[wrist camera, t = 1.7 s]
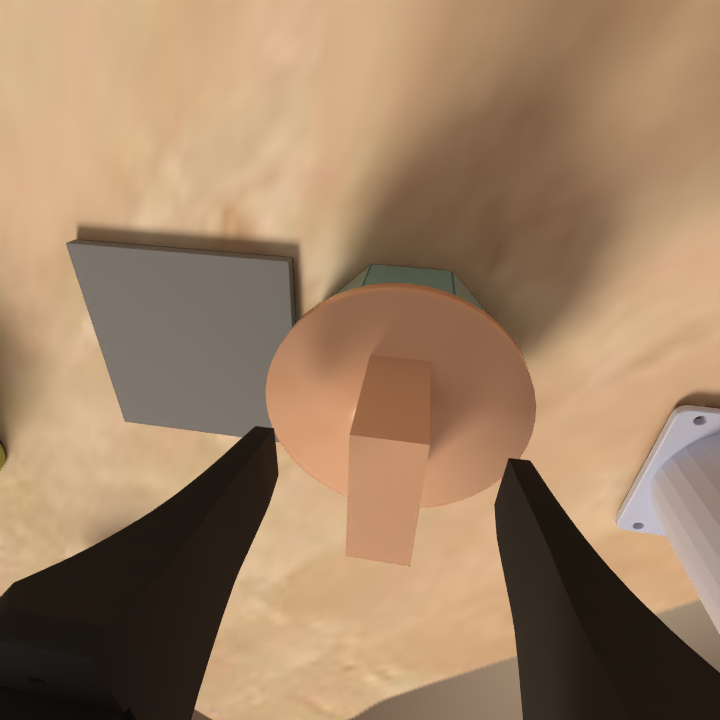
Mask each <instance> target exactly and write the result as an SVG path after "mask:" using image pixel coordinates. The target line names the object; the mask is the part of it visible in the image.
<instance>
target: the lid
mask: <svg viewBox="0 0 720 720" xmlns="http://www.w3.org/2000/svg"><path fill="white" fill-rule="evenodd" d="M266 404H267V410H268V415H269V418H270V421H271V424H272V427H273V428H274V432H275V434H276V436H277V438H278V440H279V441H280V443H281V444H282V446H283V447H284V449H285V450H286V452H287V453H288V454H289V455H290V456H291V458H292V459H293V460H294V461H295V462H296V463H297V464H298V465H299V466H300V467H301V468H302V469H303V470H304V471H305V472H306V473H308V474H309V475H310V476H312V477H313V478H314V479H316V480H317V481H319V482H320V483H322V484H323V485H325V486H327V487H328V488H330V489H332V490H334V491H336V492H338V493H340V494H342V495H345V496H347V497H348V504H347V538H346V556H348V557H354V558H361V559H367V560H373V561H379V562H385V563H392V564H398V565H404V566H410V563H411V557H412V551H413V545H414V538H415V532H416V526H417V520H418V514H419V508H429V507H436V506H441V505H446V504H450V503H454V502H457V501H461V500H463V499H466V498H468V497H471V496H473V495H475V494H477V493H479V492H481V491H483V490H485V489H487V488H488V487H490V486H491V485H493V484H494V483H495V482H497V481H498V480H500V479H501V478H502V477H503V475H504V471H505V468H506V465H507V461H508V458H513V459H519V458H520V457H521V455H522V454H523V452H524V450H525V449H526V447H527V445H528V442H529V440H530V437H531V435H532V431H533V427H534V423H535V413H536V401H535V393H534V388H533V384H532V381H531V378H530V374H529V372H528V369H527V366H526V363H525V361H524V359H523V357H522V355H521V353H520V351H519V349H518V347H517V345H516V344H515V342H514V341H513V340H512V338H511V337H510V335H509V334H508V333H507V332H506V331H505V330H504V329H503V327H502V326H501V325H500V324H499V323H498V322H497V321H496V320H495V319H493V318H492V317H491V316H490V315H488V314H487V313H486V312H484V311H483V310H482V309H480V308H479V307H477V306H475V305H474V304H472V303H470V302H469V301H467V300H465V299H463V298H460V297H458V296H456V295H453V294H451V293H449V292H446V291H442V290H439V289H435V288H432V287H428V286H422V285H415V284H409V283H382V284H373V285H366V286H362V287H358V288H353V289H350V290H347V291H344V292H342V293H339V294H336V295H334V296H332V297H330V298H328V299H326V300H325V301H323V302H321V303H319V304H318V305H316V306H315V307H313V308H312V309H311V310H309V311H308V312H307V313H305V314H304V315H303V316H302V317H301V318H300V319H299V320H298V321H297V322H296V323H295V324H294V326H293V327H292V329H291V330H290V331H289V333H288V334H287V335H286V337H285V338H284V340H283V341H282V343H281V345H280V346H279V348H278V350H277V352H276V354H275V356H274V358H273V359H272V362H271V365H270V368H269V372H268V375H267V382H266Z"/></svg>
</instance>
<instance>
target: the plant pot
mask: <svg viewBox="0 0 720 720" xmlns="http://www.w3.org/2000/svg"><path fill="white" fill-rule="evenodd" d="M5 460H6V458H5V452H4V450H3V447H2V445H1V444H0V470H1V468H2V467H3V465H4V463H5Z"/></svg>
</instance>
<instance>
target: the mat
mask: <svg viewBox="0 0 720 720" xmlns="http://www.w3.org/2000/svg"><path fill="white" fill-rule="evenodd" d="M66 245H67V248H68V251H69V254H70V257H71V260H72V263H73V266H74V269H75V272H76V275H77V278H78V281H79V285H80V288H81V291H82V294H83V297H84V300H85V303H86V306H87V309H88V312H89V315H90V318H91V321H92V324H93V327H94V330H95V333H96V336H97V339H98V342H99V345H100V348H101V351H102V354H103V357H104V360H105V363H106V366H107V369H108V372H109V375H110V378H111V381H112V384H113V387H114V390H115V393H116V396H117V399H118V402H119V405H120V408H121V411H122V414H123V417H124V420H125V422H132V423H140V424H147V425H155V426H162V427H170V428H177V429H185V430H192V431H200V432H207V433H215V434H222V435H230V436H237V437H244V436H245V435H246V434H247V433H248V432H249V431H250V430H251V429H252V428H254V427H255V426H260V427H268V428H273V427H272V424H271V421H270V418H269V415H268V410H267V404H266V382H267V375H268V372H269V368H270V365H271V362H272V359H273V358H274V356H275V354H276V352H277V350H278V348H279V346H280V345H281V343H282V341H283V340H284V338H285V337H286V335H287V334H288V333H289V331H290V330H291V329H292V327H293V326H294V324H295V323H296V319H295V299H294V278H293V258H292V257H280V256H268V255H256V254H244V253H232V252H220V251H208V250H196V249H184V248H172V247H160V246H148V245H136V244H124V243H112V242H100V241H88V240H73V241H70V242H68V243H66ZM275 442H280V441H279V440H278V438H277V436H276V434H275Z"/></svg>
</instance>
